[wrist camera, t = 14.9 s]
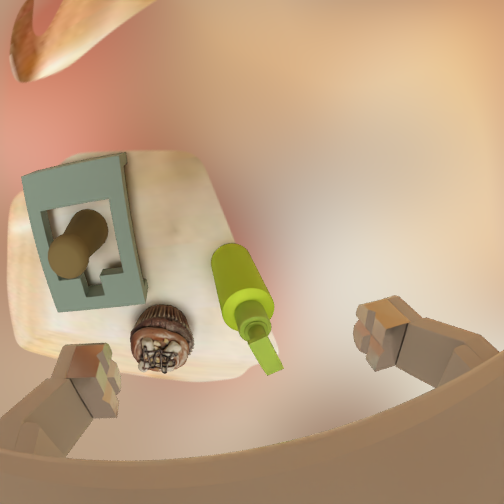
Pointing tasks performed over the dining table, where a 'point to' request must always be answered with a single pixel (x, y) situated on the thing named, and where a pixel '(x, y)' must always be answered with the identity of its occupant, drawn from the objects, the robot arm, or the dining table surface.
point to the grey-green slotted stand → (113, 188)
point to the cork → (77, 244)
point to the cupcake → (161, 339)
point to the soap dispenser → (245, 302)
